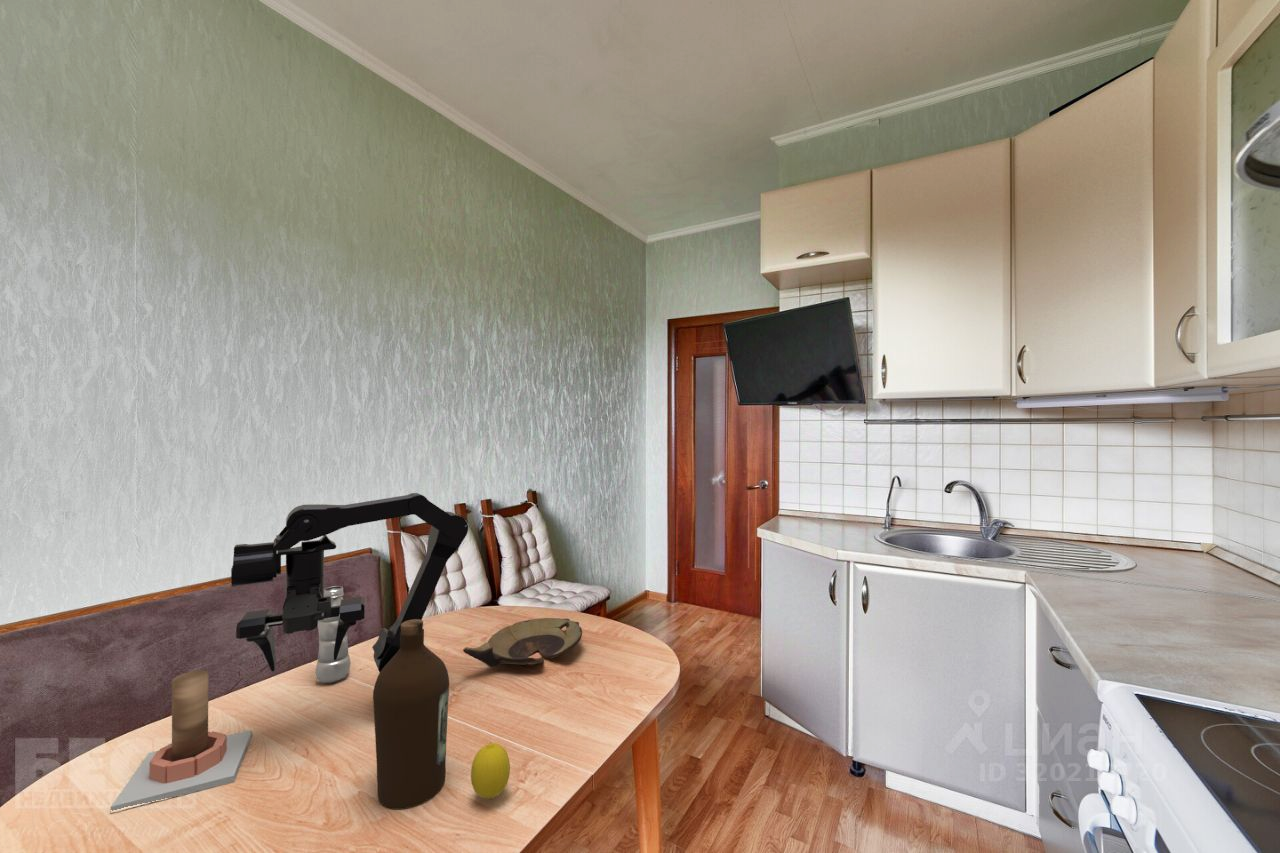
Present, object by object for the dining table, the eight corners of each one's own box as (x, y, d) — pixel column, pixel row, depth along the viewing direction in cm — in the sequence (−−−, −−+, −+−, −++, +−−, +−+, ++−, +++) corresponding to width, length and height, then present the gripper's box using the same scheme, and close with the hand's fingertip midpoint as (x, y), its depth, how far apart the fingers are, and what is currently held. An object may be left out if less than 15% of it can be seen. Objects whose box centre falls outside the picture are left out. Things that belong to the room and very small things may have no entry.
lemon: (475, 786, 78) (475, 733, 78) (512, 784, 78) (512, 731, 78) (466, 813, 72) (466, 756, 72) (506, 810, 73) (506, 754, 73)
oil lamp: (599, 662, 120) (599, 629, 120) (467, 693, 106) (466, 656, 106) (567, 630, 140) (567, 602, 140) (451, 653, 126) (451, 621, 126)
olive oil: (368, 821, 71) (368, 640, 71) (377, 774, 81) (377, 615, 81) (449, 801, 75) (449, 629, 75) (449, 758, 85) (448, 607, 85)
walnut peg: (215, 755, 84) (215, 669, 85) (191, 772, 80) (192, 682, 80) (188, 755, 84) (189, 670, 85) (163, 772, 80) (164, 683, 80)
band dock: (252, 735, 92) (252, 715, 92) (233, 781, 79) (233, 759, 79) (148, 758, 85) (148, 737, 85) (110, 813, 73) (110, 789, 73)
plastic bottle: (308, 684, 110) (308, 591, 111) (337, 670, 117) (337, 582, 117) (329, 689, 108) (329, 594, 108) (357, 675, 114) (357, 585, 115)
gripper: (227, 597, 79) (227, 698, 79) (364, 580, 88) (364, 671, 88) (243, 579, 89) (243, 669, 89) (364, 566, 98) (364, 647, 98)
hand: (305, 664), depth 91 cm, fingers open, 9 cm apart
